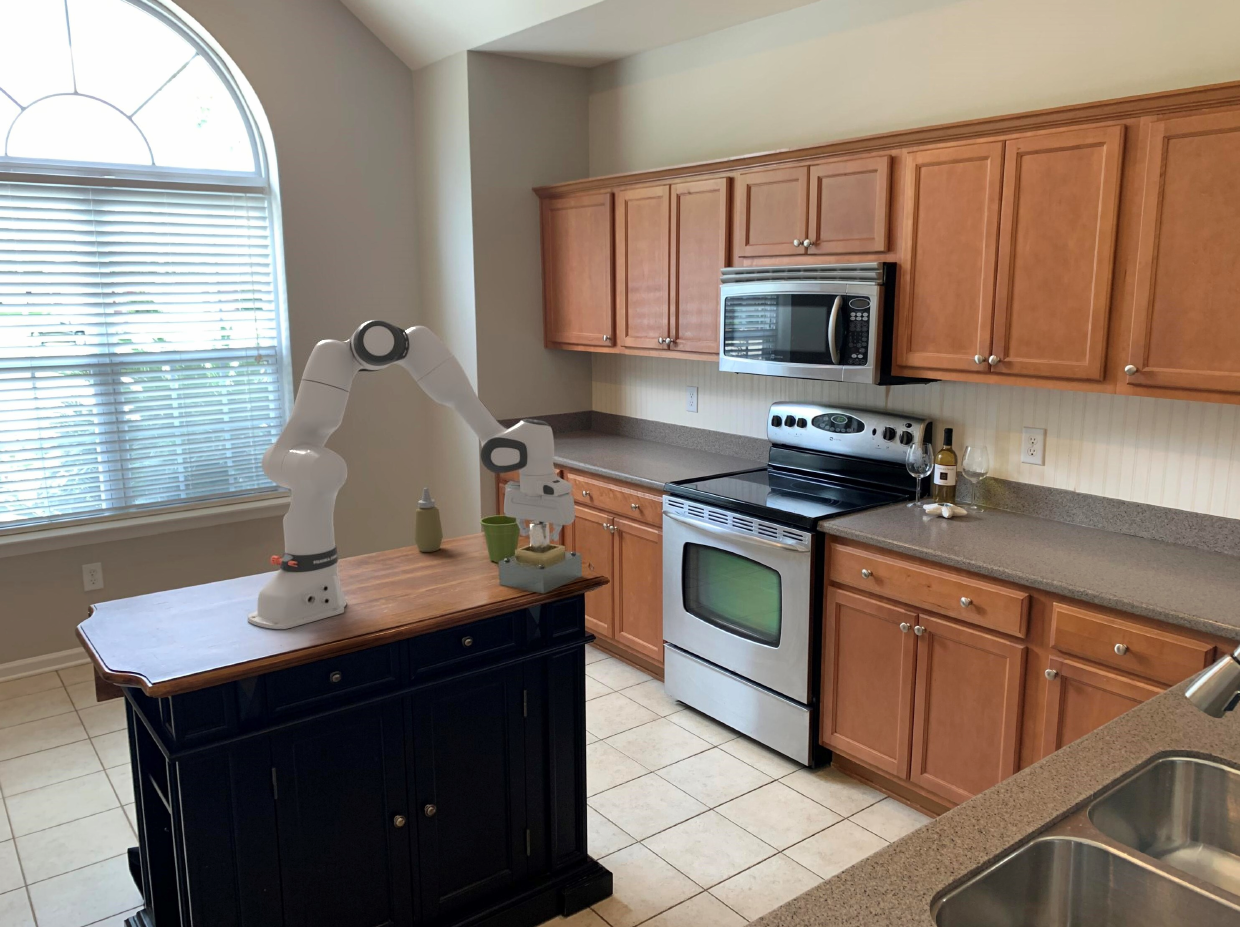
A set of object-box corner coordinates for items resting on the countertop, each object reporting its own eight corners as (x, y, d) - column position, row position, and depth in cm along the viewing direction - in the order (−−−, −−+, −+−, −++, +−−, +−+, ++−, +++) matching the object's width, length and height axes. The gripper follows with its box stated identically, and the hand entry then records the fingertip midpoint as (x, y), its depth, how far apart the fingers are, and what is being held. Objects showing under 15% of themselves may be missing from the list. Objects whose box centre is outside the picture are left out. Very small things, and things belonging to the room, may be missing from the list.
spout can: (541, 561, 237) (540, 518, 235) (526, 558, 240) (524, 516, 238) (553, 556, 241) (552, 514, 239) (538, 553, 244) (537, 512, 242)
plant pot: (531, 561, 258) (529, 521, 256) (489, 568, 253) (487, 527, 251) (516, 551, 269) (514, 512, 267) (475, 557, 264) (473, 517, 262)
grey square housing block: (543, 593, 231) (542, 559, 229) (499, 584, 239) (498, 552, 237) (582, 576, 244) (581, 544, 243) (539, 568, 252) (537, 537, 250)
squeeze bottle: (415, 554, 267) (411, 492, 264) (414, 547, 275) (410, 486, 272) (444, 552, 269) (441, 490, 266) (442, 544, 277) (438, 484, 274)
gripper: (497, 482, 240) (499, 535, 242) (562, 490, 229) (564, 545, 231) (513, 477, 245) (515, 529, 247) (577, 485, 234) (579, 539, 236)
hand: (539, 537), depth 239 cm, fingers open, 8 cm apart
